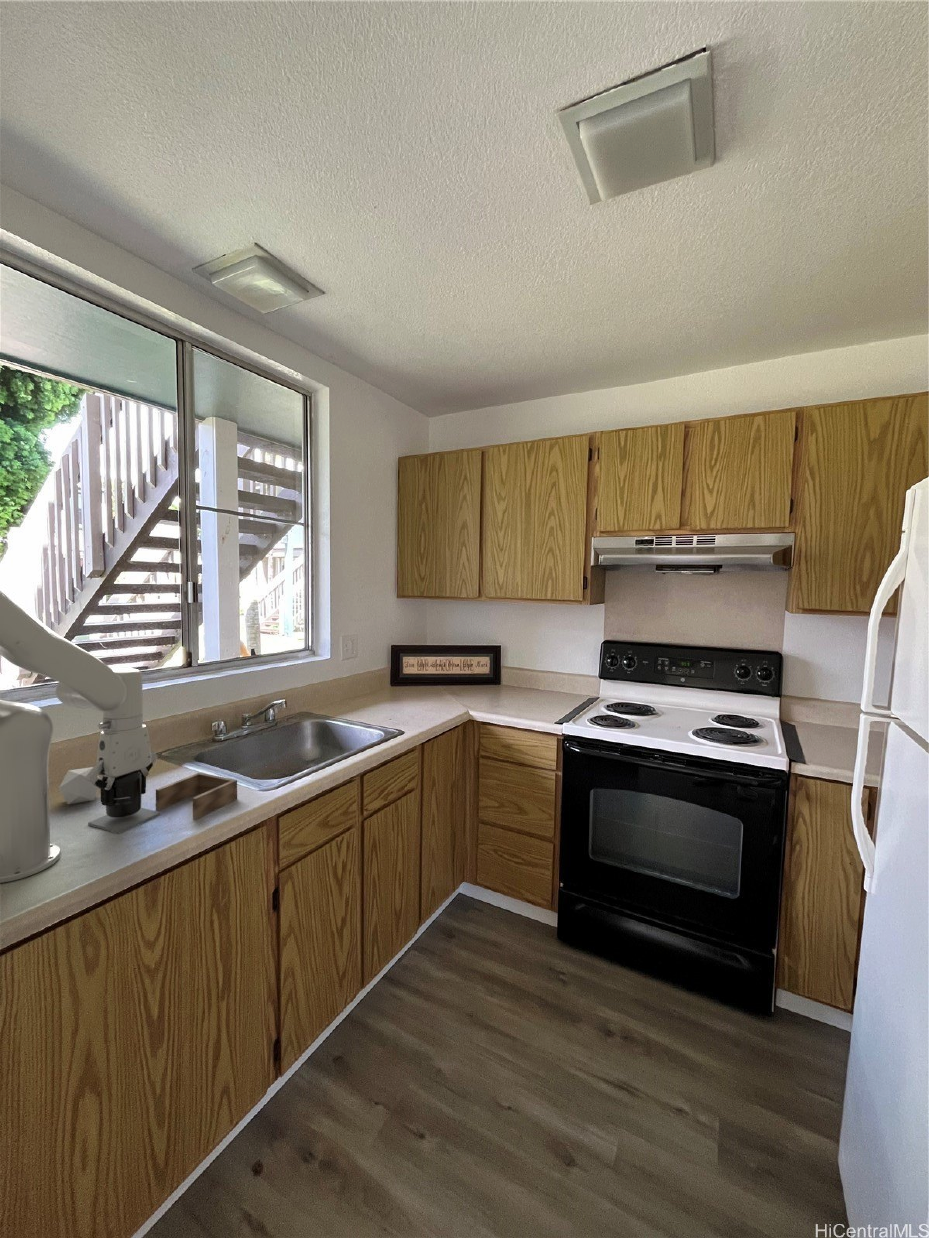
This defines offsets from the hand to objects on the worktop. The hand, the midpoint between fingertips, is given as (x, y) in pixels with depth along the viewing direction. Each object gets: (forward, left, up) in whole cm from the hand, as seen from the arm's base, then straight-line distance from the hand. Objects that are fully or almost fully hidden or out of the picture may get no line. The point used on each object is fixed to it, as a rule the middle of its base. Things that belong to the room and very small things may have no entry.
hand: (124, 798), depth 116 cm
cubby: (+13, -8, -5) cm, 16 cm away
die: (+3, +20, -5) cm, 21 cm away
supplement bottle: (0, 0, -3) cm, 3 cm away
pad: (0, 0, -5) cm, 5 cm away
